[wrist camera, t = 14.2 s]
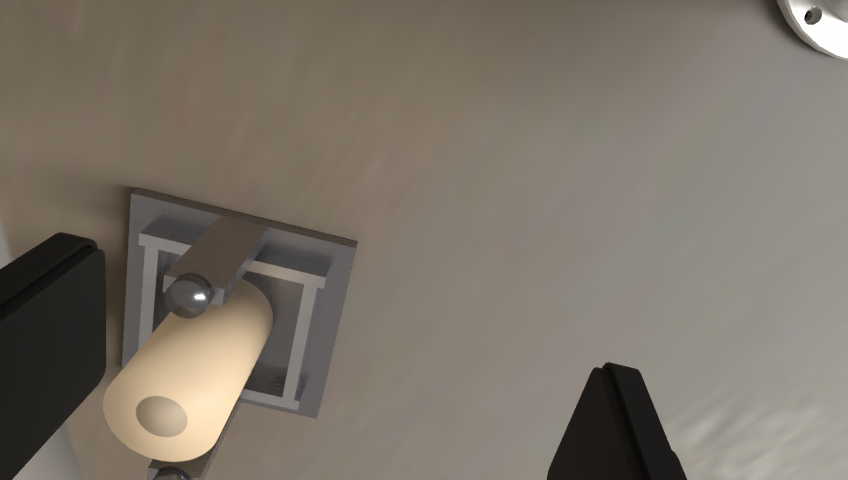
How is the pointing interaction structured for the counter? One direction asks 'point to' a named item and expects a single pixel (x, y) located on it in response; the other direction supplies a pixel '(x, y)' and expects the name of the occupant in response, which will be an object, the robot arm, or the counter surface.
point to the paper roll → (189, 377)
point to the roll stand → (214, 282)
